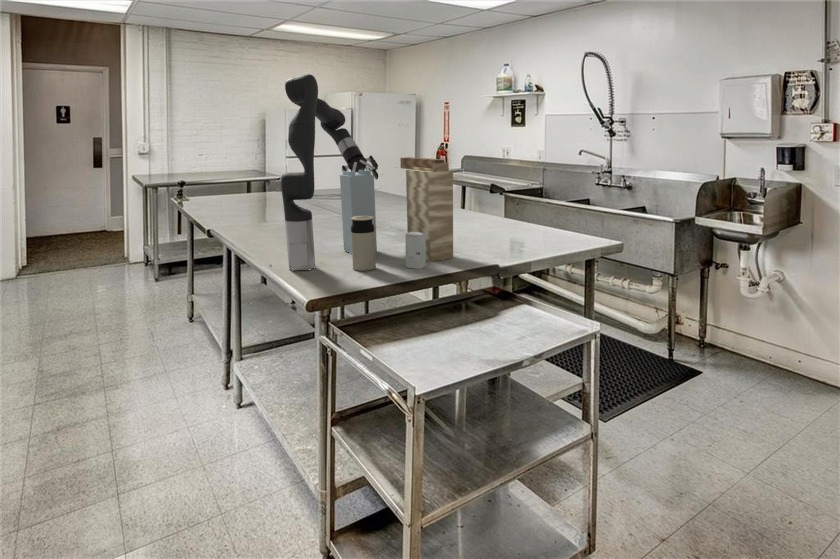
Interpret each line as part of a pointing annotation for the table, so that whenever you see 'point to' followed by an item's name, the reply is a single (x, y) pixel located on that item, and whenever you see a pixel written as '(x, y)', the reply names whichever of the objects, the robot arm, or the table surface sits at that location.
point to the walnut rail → (418, 162)
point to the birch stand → (431, 208)
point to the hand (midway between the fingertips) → (367, 181)
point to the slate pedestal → (356, 201)
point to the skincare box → (415, 250)
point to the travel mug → (363, 243)
